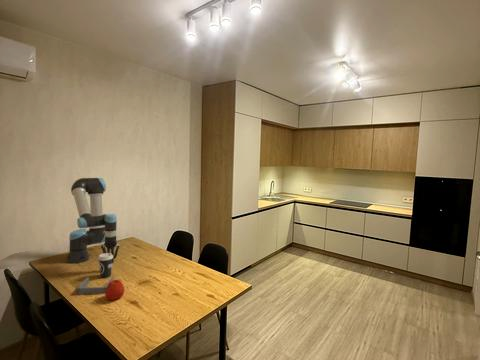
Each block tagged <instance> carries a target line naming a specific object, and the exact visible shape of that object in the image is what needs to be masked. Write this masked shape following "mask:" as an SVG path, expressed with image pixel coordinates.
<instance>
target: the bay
mask: <svg viewBox="0 0 480 360" xmlns="http://www.w3.org/2000/svg"><path fill="white" fill-rule="evenodd" d="M114 277H115V276H112V277H111V276H110V279H109V280H108V281H107V283H105V285H104V286H91V287H90V286H89V287H87V286H88V285H89V283H90V277H86V278H85V279H84V280H83V281H82V282H81V283H80V285H78V286H77V287H76V295H88V294H89V295H91V294H94V295H95V294H105V290H106V288H107V286H108V284H109V283H110V282H111V281H113V280H115V279H114Z"/></svg>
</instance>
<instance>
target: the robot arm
mask: <svg viewBox="0 0 480 360" xmlns="http://www.w3.org/2000/svg"><path fill="white" fill-rule="evenodd" d="M70 190H71V191H70V192H71V193H70V194H71V195H72V196H73V197H74V201H75V205H76V209H77V212H78V216H79V218H77V222H76V225H77V227H78V228H79V229H76V230H74V231H71V232H70V233H69V237H68V239H69V240H68V241H69V252H68V254H67V257H66V262H67V263H70V264H80V263H84V262H86V261H88V260H90V253H89V250H88V246H92V245H96V244H102V243H103V244H102V245H101V246H100V248H101V250H102V254H104V253H111V254H112V255H113V259H112V264H114V262H115V259H116V258H117V255H118V252H119V248H120V247H121V245H120V244H118V242H117V220H118V219H117V215H116V214H114V213H107V214H106V213H104V214H103V195H104V193H105V192H106V190H107V185H106V182H105V180H104V178H101V177H88V178H87V177H82V178H78V179H76V181H74V182H73V183H72V185H71V188H70ZM86 193H87V195H86ZM87 196H89V202H88V199H87ZM89 203H90V205H89ZM87 228H88V230H87ZM115 248H116V249H115Z"/></svg>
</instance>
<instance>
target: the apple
mask: <svg viewBox="0 0 480 360" xmlns="http://www.w3.org/2000/svg"><path fill="white" fill-rule="evenodd" d="M124 294H125V286H124V284H123V282H122V281H121V280H119V279H114V280H113V281H111V282H110V283H109V284H108V286H107V288H106V290H105V293H104V295H105V298H106V299H107V300H110V301H115V300H117V299H120V298H122V297H123V296H124Z"/></svg>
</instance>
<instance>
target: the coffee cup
mask: <svg viewBox="0 0 480 360" xmlns="http://www.w3.org/2000/svg"><path fill="white" fill-rule="evenodd" d="M97 259H98V265H99V267H98V268H99V275H100V276H99V277H100V278H101V279H109V278H111V275H112V268H113V263H112V259H113V255H112V254H111V252H110V253H104V254H103V253H101V254H99V255H98V257H97Z"/></svg>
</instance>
